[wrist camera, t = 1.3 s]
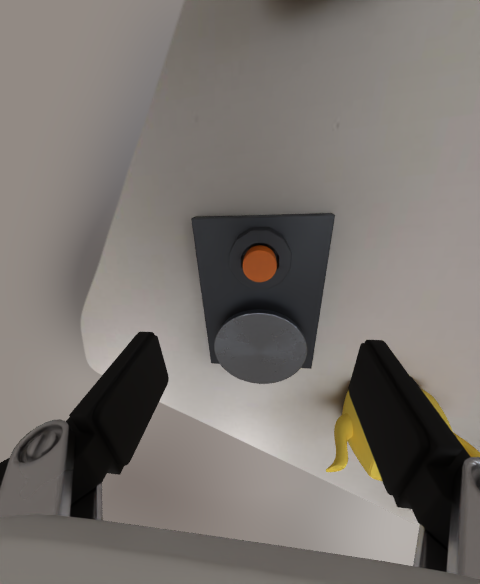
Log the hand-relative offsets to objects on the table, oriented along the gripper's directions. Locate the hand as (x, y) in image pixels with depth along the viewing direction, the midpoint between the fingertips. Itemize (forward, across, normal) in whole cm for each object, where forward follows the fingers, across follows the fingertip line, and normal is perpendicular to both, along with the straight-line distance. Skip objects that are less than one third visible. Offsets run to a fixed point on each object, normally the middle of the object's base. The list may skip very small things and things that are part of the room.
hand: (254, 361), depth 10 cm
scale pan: (+13, 0, +11) cm, 17 cm away
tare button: (+14, 0, 0) cm, 14 cm away
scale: (+16, 0, +6) cm, 17 cm away
